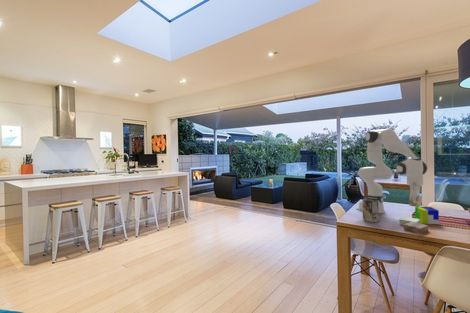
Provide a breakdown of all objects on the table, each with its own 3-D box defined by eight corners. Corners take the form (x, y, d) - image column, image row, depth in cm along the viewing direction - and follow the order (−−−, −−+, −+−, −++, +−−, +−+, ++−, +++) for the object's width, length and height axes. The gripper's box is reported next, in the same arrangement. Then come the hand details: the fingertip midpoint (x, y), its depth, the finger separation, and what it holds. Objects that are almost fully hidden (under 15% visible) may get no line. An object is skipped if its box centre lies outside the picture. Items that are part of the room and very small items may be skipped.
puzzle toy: (438, 224, 168) (438, 210, 168) (422, 223, 170) (422, 210, 170) (430, 219, 178) (430, 206, 178) (415, 219, 180) (415, 206, 180)
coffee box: (379, 222, 177) (378, 201, 177) (372, 223, 175) (372, 201, 175) (368, 218, 186) (368, 198, 186) (362, 219, 184) (362, 199, 184)
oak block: (409, 205, 159) (409, 195, 158) (412, 204, 162) (412, 194, 161) (418, 207, 155) (418, 196, 154) (421, 205, 158) (420, 195, 157)
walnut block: (403, 230, 160) (403, 224, 160) (411, 227, 165) (411, 221, 165) (420, 234, 151) (420, 228, 151) (428, 231, 156) (428, 225, 156)
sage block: (399, 224, 171) (399, 219, 171) (403, 221, 177) (403, 216, 177) (416, 228, 163) (416, 222, 163) (420, 224, 170) (420, 219, 169)
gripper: (419, 183, 148) (419, 205, 148) (422, 179, 163) (422, 199, 163) (407, 183, 152) (407, 204, 152) (410, 179, 167) (410, 198, 168)
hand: (415, 201), depth 158 cm, fingers closed on oak block, 5 cm apart
